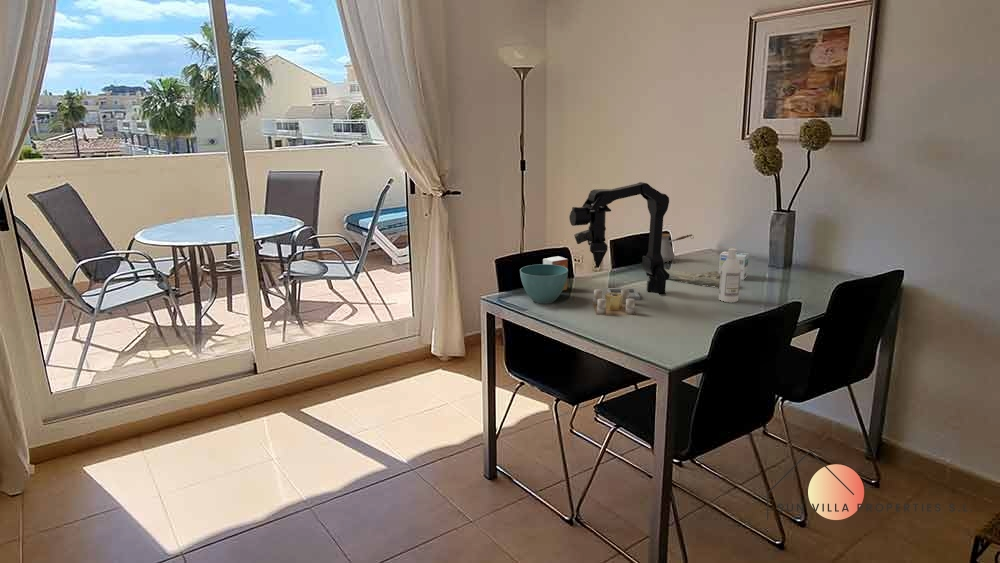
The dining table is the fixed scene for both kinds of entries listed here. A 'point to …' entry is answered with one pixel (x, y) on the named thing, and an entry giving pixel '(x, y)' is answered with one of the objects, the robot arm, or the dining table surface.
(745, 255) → the light bulb box
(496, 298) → the dining table surface
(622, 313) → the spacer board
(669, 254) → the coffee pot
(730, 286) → the bath foam
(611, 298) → the nut
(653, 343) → the dining table surface
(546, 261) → the small box
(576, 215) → the robot arm
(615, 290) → the tray
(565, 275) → the teal bowl
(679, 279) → the elongated rock
